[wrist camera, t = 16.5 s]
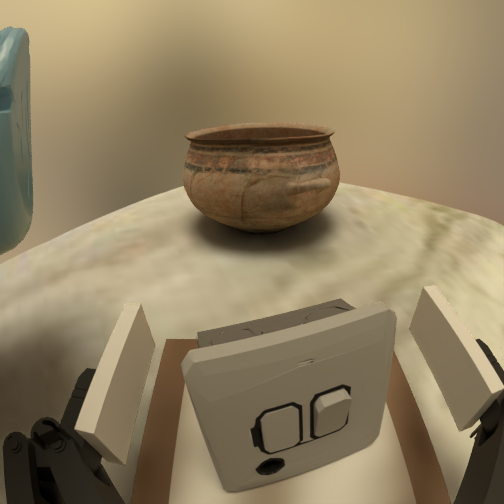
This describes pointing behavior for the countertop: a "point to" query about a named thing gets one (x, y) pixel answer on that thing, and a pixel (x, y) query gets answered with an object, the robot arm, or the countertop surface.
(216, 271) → the countertop surface
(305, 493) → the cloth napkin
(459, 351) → the robot arm
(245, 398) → the electrical switch
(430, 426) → the countertop surface
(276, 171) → the cooking pot
